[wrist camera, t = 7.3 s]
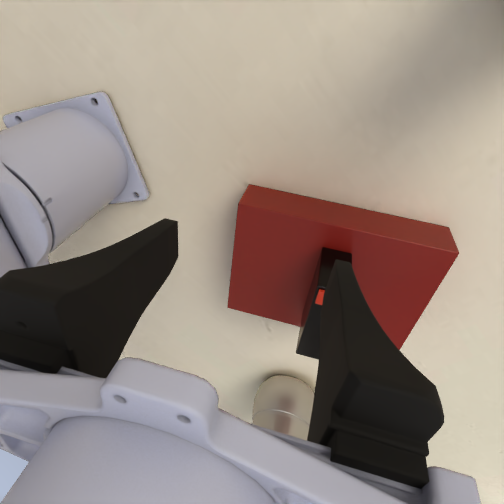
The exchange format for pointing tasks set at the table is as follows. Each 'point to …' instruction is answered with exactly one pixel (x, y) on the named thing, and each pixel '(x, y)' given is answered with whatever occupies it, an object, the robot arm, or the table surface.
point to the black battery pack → (317, 302)
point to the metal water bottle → (284, 406)
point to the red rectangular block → (339, 238)
